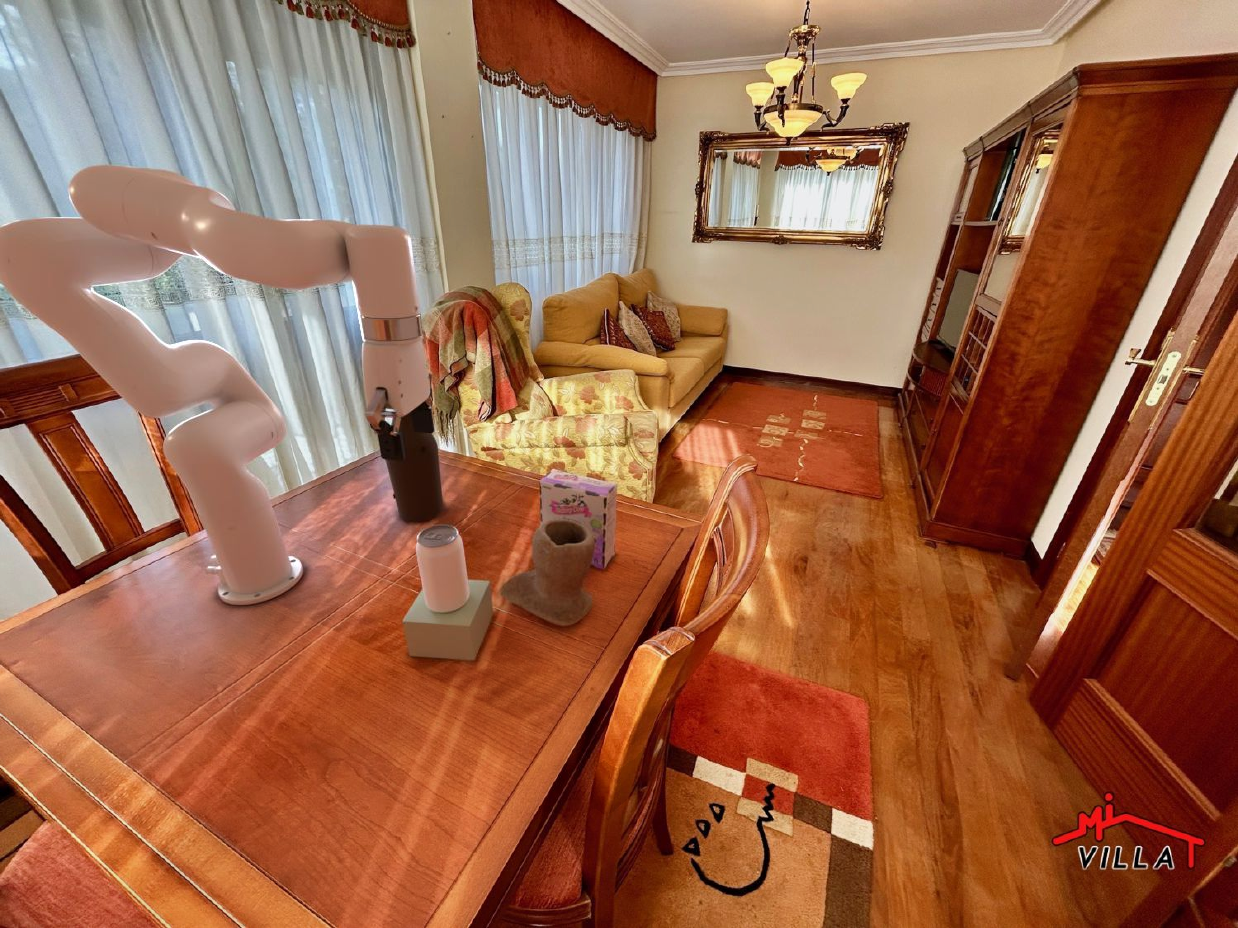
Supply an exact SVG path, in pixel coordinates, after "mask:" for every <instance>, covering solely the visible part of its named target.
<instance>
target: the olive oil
mask: <svg viewBox="0 0 1238 928" xmlns="http://www.w3.org/2000/svg"><path fill="white" fill-rule="evenodd" d="M398 433H402V439H403V446H404V452H405V459H404V460H403V461H398V460H386V459H384V461H385V464H386V468H387V471H388V476H389V479H390V483H391V487H392V491H393V494H392V497H393V500H395V502H396V507H397V511H398V515H399V517H400V518H401V520H403V521H406V522H411V523H420V522H421V523H422V522H426V521H430V520H432V519H434V518H437V517H438V516H440V514H442V512H443V511H444V497H443V490H442V479H441V469H440V468H441V467H440V456H439V455H440V454H439V446H438V442H437V439H436V438H435V437H434V435H433V433H420V432H414V430H413V424H412V417H411V412H409V413H408V414H406V415H405V416H403V417H401V421H400V425H399V430H398Z"/></svg>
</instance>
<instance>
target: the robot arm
mask: <svg viewBox="0 0 1238 928" xmlns="http://www.w3.org/2000/svg"><path fill="white" fill-rule="evenodd" d="M68 197H69V200H70V203H71V205H72V207H73V208H74V210H75V211H76V213H77V214H78V216H80V217H62V216H61V217H60V216H59V217H55V216H54V217H34V218H26V219H25V218H24V219H20V220H19V219H18V220H15V221H10V222H8V223H6V224H4V225H1V226H0V283H1V284H2V286H3V287H4V288H5V290H6V291H7V292H8V293H9V295H11V297H12V298H13V299H14V300H15V301H16V302H17V303H18V304H19V305H20V306H21V307H23V308H24V309H25V310H26V311H27V312H29V314H31V315H32V316H34V317H35V318H36V319H38V320H39V321H40V322H41V323H43V324H44V325H45V326H47V327H48V328H49V329H51V330H52V331H53V332H55V333H56V334H57V335H58V336H59V337H60V338H62V339H63V340H64V341H66V342H67V343H68V344H69V345H70V346H71V347H72V348H73V349H74V350H75V351H76V352H77V353H78V355H80V356H81V358H83V359H84V360H85V361H86V362H87V363H88V365H89V366H90V367H91V368H92V369H93V370H94V371H95V372H96V373H97V374H98V375H100V377H101V378H102V379H103V380H104V381H105V382H106V383H107V384H108V385H109V386H110V387H111V388H112V389H113V390H114V391H115V392H116V393H117V395H119V396H120V397H121V398H122V399H123V400H124V401H125V403H127V404H128V405H129V406H130V407H131V408H132V409H133V410H135V411H136V412H138V413H139V414H141V415H142V416H145V417H148V418H151V419H152V418H153V419H162V418H168V417H171V416H174V415H178V414H180V413H181V414H182V413H183V412H186V411H189V410H191V409H193V408H196V407H199V406H201V405H203V404H206V403H208V404H209V405H210V406H211V407H213V408H211V409H209V410H207V411H204V412H202V413H200V414H198V415H194V416H193V417H192V416H191V417H190V418H188V419H185V420H184V421H182V422H180V423H179V424H177V425H176V426H174V427H173V428H172V429H171V430H169V432H168V433H167V434H166V436H165V438H164V440H163V444H162V449H163V454H164V457H165V459H166V461H167V462H168V464H169V465H170V467H171V468H172V469H173V471H174V472H175V473H176V475H177V476H178V478H179V479H180V480H181V482H182V483H183V485H184V487H185V489H186V490H187V492H188V494H189V496H190V498H191V501H192V502H193V505H194V507H195V509H196V512H197V514H198V517H199V518H200V520H201V523H202V526H203V528H204V530H205V533H206V536H207V538H208V541H209V543H210V545H211V548H212V550H213V553H214V555H212V556H210V558H209V560H208V565H209V566H207V567H206V569H205V574H206V575H213V576H214V575H216V576H217V575H218V577H219V580H220V582H219V584H218V586H217V594H218V596H219V598H220V600H222V602H224V603H226V604H228V605H229V604H230V605H234V606H246V605H247V606H248V605H254V604H258V603H263V602H266V601H268V600H271V599H274V598H276V597H278V596H280V595H282V594H284V593H285V592H287V591H289V590H291V588H293V587H294V586H295V585H296V584H297V583H298V582H299V581H300V579H301V578H302V576H303V574H304V567H303V563H302V561H301V560H300V559H298V558H297V557H295V556H291V555H289V553H288V550H287V547H286V544H285V541H284V538H283V535H282V532H281V529H280V526H279V522H278V519H277V517H276V513H275V511H274V507H273V505H272V501H271V498H270V495H269V493H268V490H267V488H266V485H265V484H264V483H263V481H262V480H260V479H259V478H258V477H257V476H255V475H254V474H252V473H251V472H250V471H249V470H248V468H247V465H248V464H249V463H251V462H252V461H254V460H255V459H257V458H259V457H261V456H262V455H263V454H266V453H267V452H269V451H271V450H273V449H274V448H276V447H277V446H278V445H280V444H281V443H282V442H283V441H284V439H285V438H286V435H287V430H288V429H287V423H286V420H285V418H284V416H283V415H284V414H282V412H281V410H280V409H279V408H278V406H277V405H276V403H274V402H273V400H272V399H271V397H269V396H268V394H267V393H266V392H265V391H264V389H263V388H262V387H261V385H259V384H258V382H256V380H255V379H254V377H252V375H251V374H250V373H249V372H248V371H247V370H246V368H245V367H244V366H243V365H242V364H241V363H240V361H239V360H238V359H237V358H236V357H235V356H234V355H232V354H231V353H230V352H229V351H228V350H226V349H225V348H223V347H221V346H220V345H219V344H216V343H213V342H211V341H207V340H202V339H194V340H193V339H192V340H191V339H190V340H185V341H181V342H177V343H173V344H167V343H166V342H164V341H162V340H161V339H160V338H159V337H158V336H157V335H156V334H155V333H154V332H153V331H152V330H151V328H149V327H148V325H147V324H146V322H144V321H143V320H142V319H141V318H140V317H139V316H138V315H136V314H135V313H134V312H133V311H131V310H130V309H128V308H126V307H125V306H123V305H121V304H120V303H119V302H116V301H115V300H112V299H110V298H109V297H105V296H103V295H101V294H99V293H97V292H96V291H95V290H94V288H93V287H98V286H108V285H117V284H126V283H134V282H142V281H148V280H151V279H155V278H157V277H159V276H161V275H163V274H164V273H166V272H167V271H168V270H169V269H170V268H172V267H173V266H174V265H175V264H176V263H177V262H179V260H181V259H182V258H183V257H184V256H185V255H187V256H190V257H194V258H198V259H202V260H203V261H204V262H205V263H206V264H208V265H209V266H210V267H212V268H213V269H215V270H216V271H218V272H219V273H220V274H223V275H225V276H228V277H231V278H235V279H238V280H242V281H245V282H250V283H254V284H258V285H262V286H267V287H271V288H277V289H282V290H288V291H305V290H310V289H315V288H321V287H323V286H324V287H325V286H328V285H337V284H343V283H348V282H352V287H353V293H354V298H355V304H356V309H357V314H358V315H357V316H358V320H359V321H358V322H359V324H360V325H359V326H360V331H361V337H362V341H363V342H362V343H361V345H362V346H361V365H362V366H361V367H362V378H363V388H364V396H365V401H366V408H365V410H364V416H365V418H366V420H367V421H368V423H369V428H371V429H372V430H373V433H374V434H375V435H376V436H377V441H378V446H379V452H380V457H381V459H383V460H385V459H386V460H398V461H403V460H404V459H405V452H404V446H403V439H402V433H398V430H399V425H400V421H401V417H403V416H405V415H406V414H408V413H409V412H411V417H412V424H413V430H414V432H420V433H431V434H434V433H435V423H434V422H435V421H434V414H433V408H432V407H433V400H432V399H431V398H432V394H433V388H432V383H433V375H432V373H430V372H429V367H428V361H427V357H426V351H425V348H424V343H423V340H424V331H423V323H422V322H423V321H422V314H421V305H420V297H419V291H418V281H417V273H416V265H415V259H414V250H413V243H412V238H411V236H410V234H409V232H408V231H407V230H406V229H404V228H402V227H400V226H395V225H387V224H386V225H384V224H383V225H382V224H355V223H350V222H345V221H340V220H335V219H334V220H333V219H313V218H312V219H311V218H310V219H305V218H304V219H300V218H299V219H276V218H270V217H265V216H259V215H255V214H251V213H247V212H243V211H240V210H239V211H238V210H236V208H235V207H234V205H233V204H232V202H231V201H230V200H229V199H228V197H226V196H225V195H224V194H222V193H221V192H220V191H217V190H215V189H213V188H210V187H206V186H202V185H197V183H195V182H194V181H192V180H191V179H190V178H188V177H186V176H184V175H182V174H180V173H177V172H174V171H171V170H167V169H159V168H150V167H149V168H147V167H139V166H138V167H137V166H129V165H128V166H126V165H117V164H100V165H92V166H87V167H85V168H83V169H81V170H79V171H78V172H77V173H75V174H74V175H73V176H72V178H71V180H70V182H69V185H68ZM392 410H394V411H392ZM386 418H387V419H388V418H389V419H391V424H390V423H389V422H388V421H386Z"/></svg>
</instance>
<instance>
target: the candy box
mask: <svg viewBox="0 0 1238 928" xmlns="http://www.w3.org/2000/svg"><path fill="white" fill-rule="evenodd" d="M538 482H539V483H538V485H539V509H540V525H541V524H542V523H543V522H545V521H548V520H553V519H566V520H571V521H575V522H578V523H580V524H582V525H584V526H586V527H587V528H588V529H589V530H590V531H591V533H592V534H593V537H594V541H595V551H594V556H593V559H592V563H591V566H590V567H593V568H597V569H600V570H605V569H606V567H607V566H608V565H609V563H610V562H611V561H612V559H613V558H614V557H615V555H616V553H615V547H616V545H615V543H616V525H617V523H616V521H617V501H618V500H617V499H618V483H617V482H614V481H607V480H601V479H598V478H594V477H589V476H585V475H581V474H575V473H571V472H567V471H563V470H558V469H557V468H556V469H555V468H553V469H551V470H550V471H548V473H547V474H546V475H545V476H543V477H542V478H541V479H540V480H539V481H538Z"/></svg>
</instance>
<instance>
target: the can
mask: <svg viewBox="0 0 1238 928" xmlns="http://www.w3.org/2000/svg"><path fill="white" fill-rule="evenodd" d="M416 541H417V542H416V545H415V554H416V560H417V565H418V572H419V575H420V580H421V587H422V588H423V592H424V597H425V602H426V605H427V607H428V608H429V609H430V610H432V611H434V612H437V613H449V612H453V611H455V610H457V609H459V608H461V607H462V606H463V605H464V604H465V603H466V602H467V600H468V598H469V585H468V580H469V579H468V571H467V570H468V569H467V563H466V556H465V548H464V543H463V542H464V541H463V538H462V536H461V535H460V533H459V530H458V528H457V527H455V526H453V525H450V524H445V523H441V524H433V525H431V526H428V527H426V528H424V529H423V530H421V531H420V532H419V533H418V534H417V536H416Z"/></svg>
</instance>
